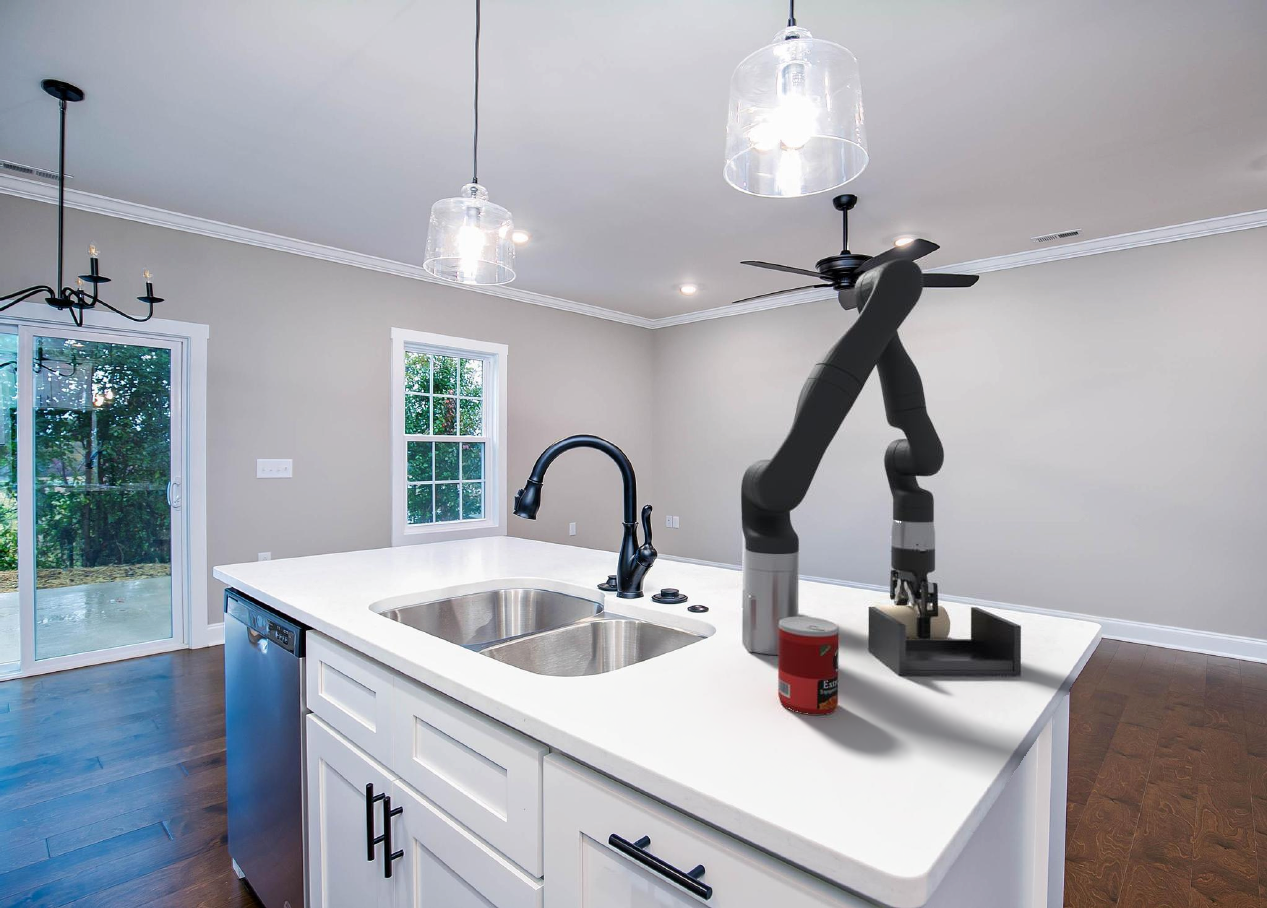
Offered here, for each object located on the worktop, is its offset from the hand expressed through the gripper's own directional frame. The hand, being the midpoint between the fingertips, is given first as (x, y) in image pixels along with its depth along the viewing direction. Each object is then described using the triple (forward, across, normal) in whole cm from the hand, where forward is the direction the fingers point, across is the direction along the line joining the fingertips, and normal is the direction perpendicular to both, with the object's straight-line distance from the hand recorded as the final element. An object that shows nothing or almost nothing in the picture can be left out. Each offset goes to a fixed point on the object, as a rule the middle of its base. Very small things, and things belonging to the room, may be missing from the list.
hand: (912, 631), depth 115 cm
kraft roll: (+1, 0, 0) cm, 1 cm away
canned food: (+1, +31, -29) cm, 42 cm away
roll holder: (+1, +14, -2) cm, 14 cm away
